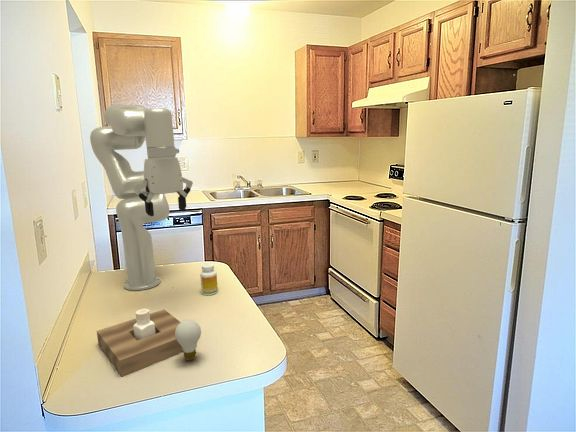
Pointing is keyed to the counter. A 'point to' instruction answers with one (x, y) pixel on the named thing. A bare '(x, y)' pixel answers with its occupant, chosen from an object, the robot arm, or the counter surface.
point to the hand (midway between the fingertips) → (166, 212)
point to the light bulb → (188, 337)
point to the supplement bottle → (208, 280)
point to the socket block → (140, 343)
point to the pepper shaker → (143, 325)
